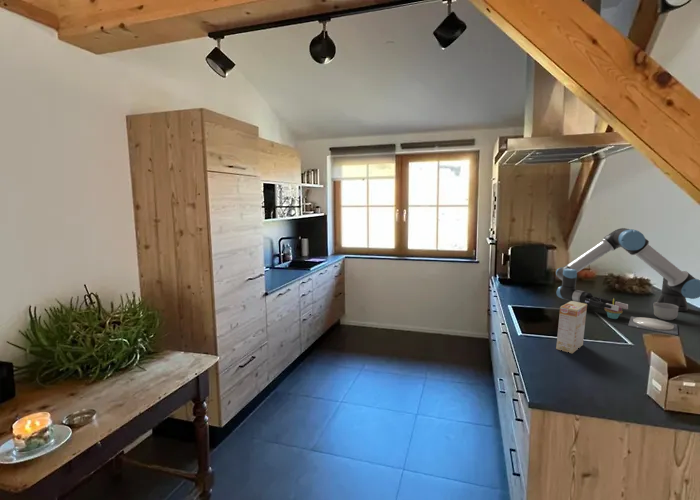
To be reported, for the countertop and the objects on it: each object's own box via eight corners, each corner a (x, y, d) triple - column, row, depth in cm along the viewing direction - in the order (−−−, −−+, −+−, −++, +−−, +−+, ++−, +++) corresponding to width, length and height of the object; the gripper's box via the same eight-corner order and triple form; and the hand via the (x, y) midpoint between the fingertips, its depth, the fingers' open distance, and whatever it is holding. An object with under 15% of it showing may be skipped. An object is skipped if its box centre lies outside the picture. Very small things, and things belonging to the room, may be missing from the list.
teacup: (681, 322, 210) (683, 308, 209) (659, 320, 212) (661, 306, 211) (666, 314, 223) (668, 301, 222) (645, 313, 225) (647, 300, 224)
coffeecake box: (566, 340, 179) (570, 300, 177) (583, 345, 174) (588, 303, 172) (555, 349, 169) (559, 306, 167) (572, 354, 164) (577, 310, 161)
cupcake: (618, 321, 210) (621, 299, 208) (601, 317, 217) (603, 296, 215) (623, 318, 216) (626, 297, 214) (606, 314, 222) (608, 294, 220)
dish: (630, 317, 217) (631, 314, 217) (676, 325, 205) (677, 322, 204) (628, 326, 202) (628, 322, 202) (677, 335, 189) (678, 331, 189)
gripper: (593, 301, 236) (633, 312, 216) (570, 305, 227) (610, 316, 207) (594, 290, 235) (634, 299, 215) (572, 293, 226) (612, 303, 206)
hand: (622, 307), depth 211 cm, fingers closed on cupcake, 8 cm apart
